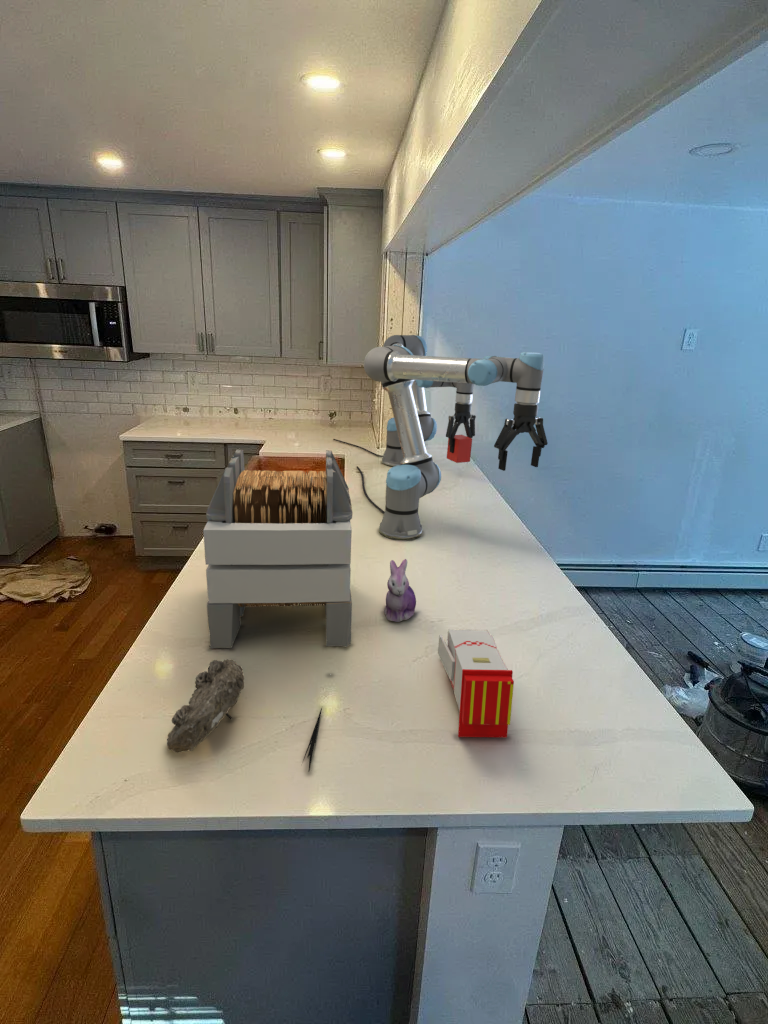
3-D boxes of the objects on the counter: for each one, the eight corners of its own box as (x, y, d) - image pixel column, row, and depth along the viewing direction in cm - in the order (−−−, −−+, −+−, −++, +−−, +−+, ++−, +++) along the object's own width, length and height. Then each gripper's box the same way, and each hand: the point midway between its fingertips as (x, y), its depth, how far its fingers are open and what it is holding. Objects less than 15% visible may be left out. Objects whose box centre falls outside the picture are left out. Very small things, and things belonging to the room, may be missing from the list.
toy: (488, 613, 130) (523, 677, 101) (484, 667, 133) (517, 744, 104) (435, 612, 130) (455, 676, 101) (432, 666, 133) (451, 743, 103)
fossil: (192, 660, 117) (244, 628, 112) (224, 691, 120) (276, 661, 115) (142, 746, 98) (202, 712, 93) (182, 779, 101) (242, 748, 96)
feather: (331, 679, 122) (336, 673, 122) (307, 777, 96) (313, 769, 95) (324, 675, 122) (329, 669, 121) (298, 772, 95) (304, 764, 95)
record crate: (229, 582, 160) (221, 440, 146) (345, 581, 163) (348, 442, 150) (207, 650, 128) (194, 478, 114) (351, 647, 132) (356, 479, 118)
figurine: (392, 627, 141) (395, 572, 136) (374, 608, 149) (376, 556, 144) (425, 619, 145) (429, 566, 140) (405, 601, 154) (408, 550, 149)
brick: (470, 461, 266) (472, 438, 262) (456, 463, 262) (458, 439, 259) (459, 457, 273) (461, 434, 269) (446, 458, 270) (448, 435, 266)
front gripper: (548, 400, 188) (539, 462, 196) (487, 402, 177) (480, 468, 185) (564, 403, 182) (554, 467, 189) (502, 406, 171) (494, 474, 178)
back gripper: (476, 400, 266) (472, 448, 274) (440, 402, 257) (436, 451, 265) (486, 403, 260) (481, 452, 268) (449, 405, 251) (445, 455, 259)
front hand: (518, 468), depth 187 cm, fingers open, 13 cm apart
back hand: (458, 451), depth 266 cm, fingers closed on brick, 7 cm apart
